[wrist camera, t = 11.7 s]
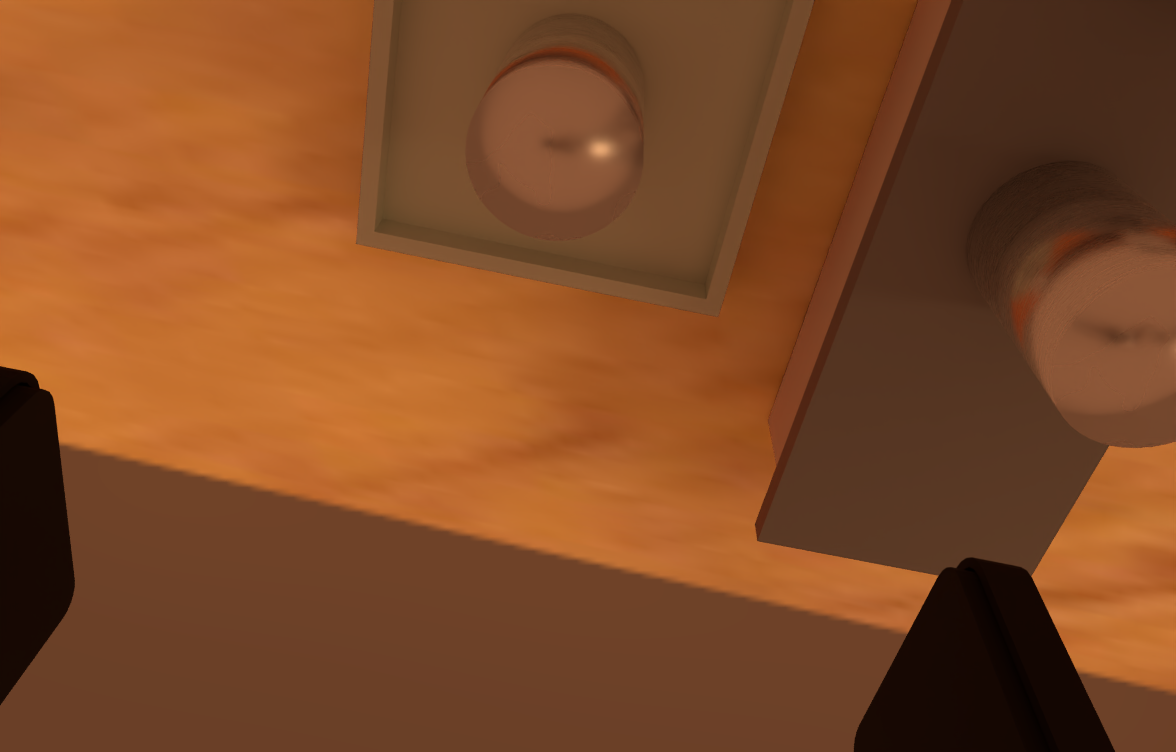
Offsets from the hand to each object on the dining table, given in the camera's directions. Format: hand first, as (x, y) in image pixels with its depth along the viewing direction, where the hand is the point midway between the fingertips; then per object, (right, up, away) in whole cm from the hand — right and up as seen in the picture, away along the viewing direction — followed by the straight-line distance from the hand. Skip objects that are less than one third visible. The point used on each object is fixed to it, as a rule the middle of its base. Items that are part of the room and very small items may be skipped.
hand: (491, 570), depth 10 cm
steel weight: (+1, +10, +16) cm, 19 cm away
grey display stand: (+13, +8, +18) cm, 23 cm away
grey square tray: (+1, +11, +17) cm, 20 cm away
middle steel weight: (+12, +5, +13) cm, 19 cm away
